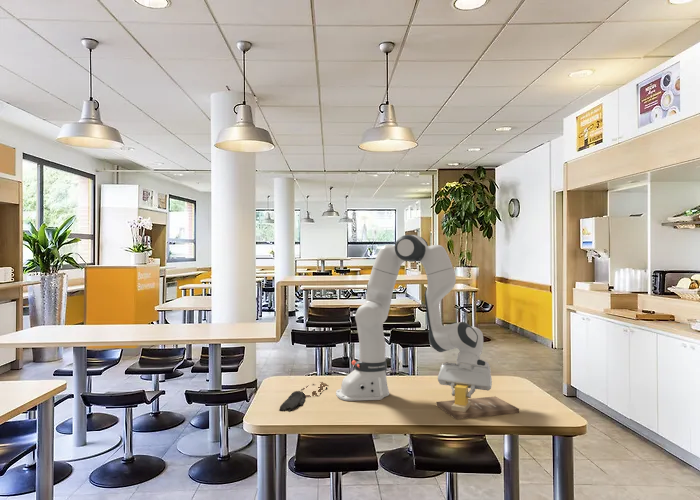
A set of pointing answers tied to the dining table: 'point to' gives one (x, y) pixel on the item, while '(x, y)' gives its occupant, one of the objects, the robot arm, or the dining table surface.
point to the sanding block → (461, 398)
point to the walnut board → (479, 408)
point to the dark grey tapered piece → (293, 401)
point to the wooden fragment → (318, 390)
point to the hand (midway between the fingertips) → (461, 396)
